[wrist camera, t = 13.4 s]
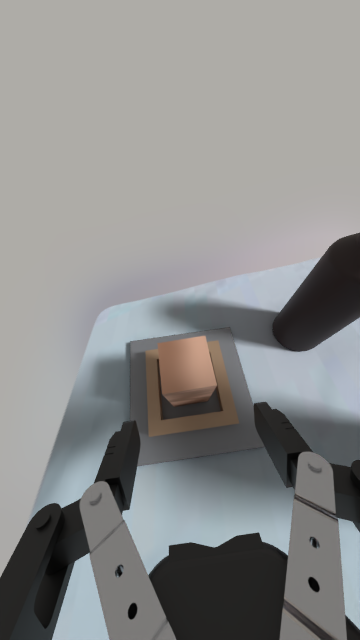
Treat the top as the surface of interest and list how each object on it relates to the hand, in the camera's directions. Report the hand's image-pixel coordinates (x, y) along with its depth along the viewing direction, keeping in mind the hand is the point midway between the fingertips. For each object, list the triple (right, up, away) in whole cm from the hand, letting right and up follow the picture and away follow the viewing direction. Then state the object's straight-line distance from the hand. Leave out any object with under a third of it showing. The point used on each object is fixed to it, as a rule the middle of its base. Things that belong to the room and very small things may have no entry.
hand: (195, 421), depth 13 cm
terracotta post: (0, -2, +13) cm, 13 cm away
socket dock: (0, -3, +14) cm, 14 cm away
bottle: (+17, +5, +18) cm, 25 cm away
